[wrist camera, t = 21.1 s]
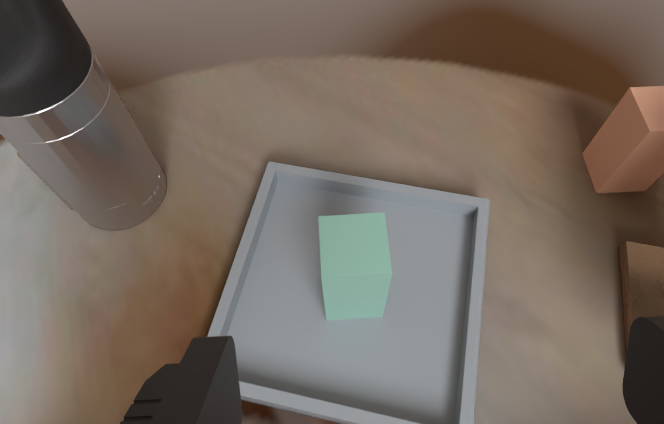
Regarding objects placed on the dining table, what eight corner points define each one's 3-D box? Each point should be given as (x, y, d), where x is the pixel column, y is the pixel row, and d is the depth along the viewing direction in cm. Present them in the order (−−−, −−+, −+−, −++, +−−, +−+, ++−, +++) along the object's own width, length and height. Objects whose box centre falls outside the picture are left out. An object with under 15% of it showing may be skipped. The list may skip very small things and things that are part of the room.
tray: (200, 389, 41) (190, 383, 38) (272, 177, 51) (268, 161, 49) (462, 452, 38) (471, 450, 35) (482, 214, 48) (489, 199, 46)
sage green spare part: (326, 320, 43) (321, 278, 34) (323, 268, 45) (318, 216, 36) (382, 316, 43) (392, 274, 34) (377, 264, 45) (384, 212, 36)
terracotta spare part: (596, 193, 49) (650, 131, 41) (582, 153, 52) (629, 87, 43) (645, 191, 49) (709, 128, 41) (628, 151, 52) (685, 84, 43)
